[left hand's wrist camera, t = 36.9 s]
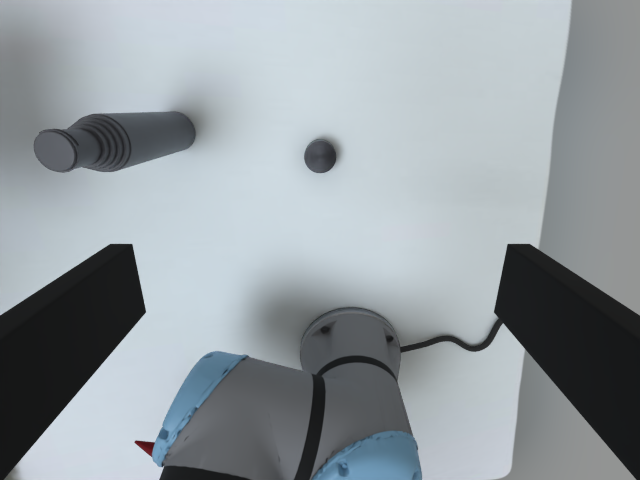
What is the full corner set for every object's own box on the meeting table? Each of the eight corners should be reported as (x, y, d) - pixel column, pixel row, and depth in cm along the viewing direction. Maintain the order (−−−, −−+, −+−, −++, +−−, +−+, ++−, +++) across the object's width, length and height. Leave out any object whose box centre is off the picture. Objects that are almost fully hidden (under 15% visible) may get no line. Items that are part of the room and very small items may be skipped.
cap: (340, 146, 44) (341, 148, 42) (328, 174, 45) (328, 177, 43) (311, 134, 44) (311, 135, 42) (300, 163, 45) (299, 166, 43)
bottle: (202, 141, 44) (103, 169, 24) (170, 156, 45) (48, 196, 25) (182, 105, 42) (59, 103, 22) (150, 121, 43) (2, 133, 23)
